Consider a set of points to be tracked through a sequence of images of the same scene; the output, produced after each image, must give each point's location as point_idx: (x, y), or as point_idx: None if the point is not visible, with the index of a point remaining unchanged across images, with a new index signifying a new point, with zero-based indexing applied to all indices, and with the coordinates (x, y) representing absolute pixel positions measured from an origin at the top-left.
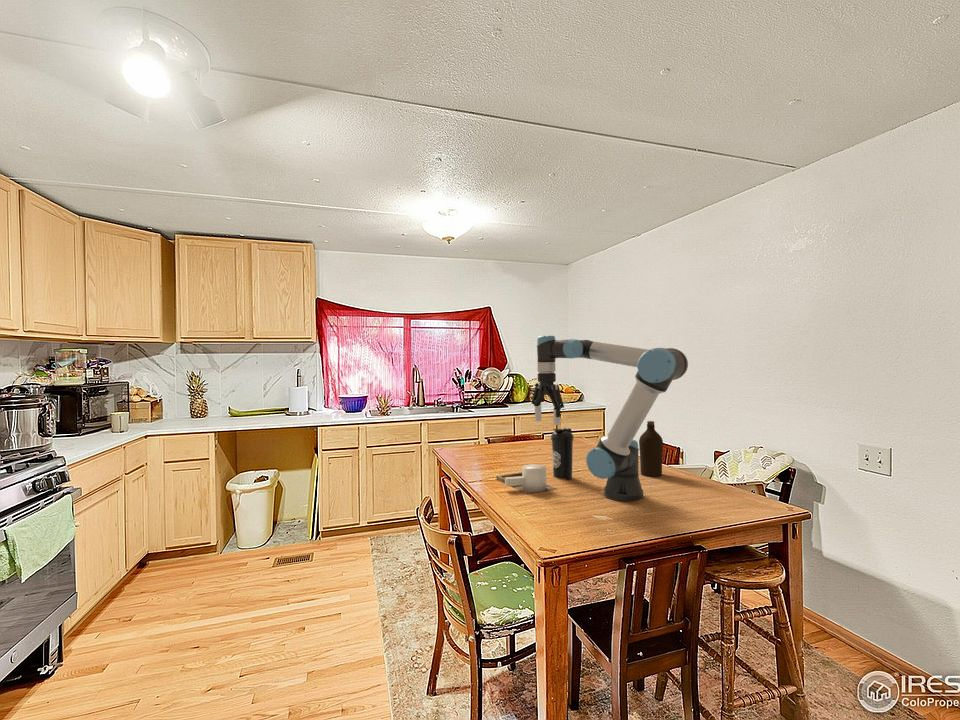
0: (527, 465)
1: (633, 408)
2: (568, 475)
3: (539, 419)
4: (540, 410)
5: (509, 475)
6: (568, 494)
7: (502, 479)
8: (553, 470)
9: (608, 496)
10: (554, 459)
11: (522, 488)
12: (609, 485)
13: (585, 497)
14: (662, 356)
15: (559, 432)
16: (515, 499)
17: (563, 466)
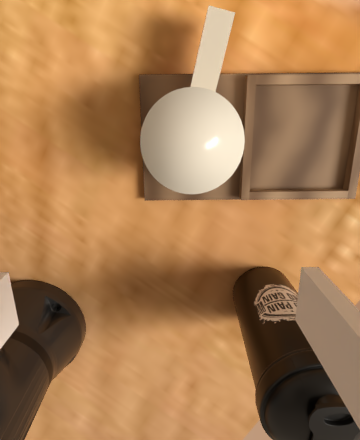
0: (232, 133)
1: None
2: (234, 301)
3: (303, 309)
4: (346, 393)
5: (356, 130)
6: (107, 209)
7: (325, 74)
8: (281, 280)
9: (28, 282)
10: (283, 300)
11: None
12: (17, 304)
13: (62, 233)
14: None
15: (310, 405)
16: (133, 19)
17: (245, 304)
